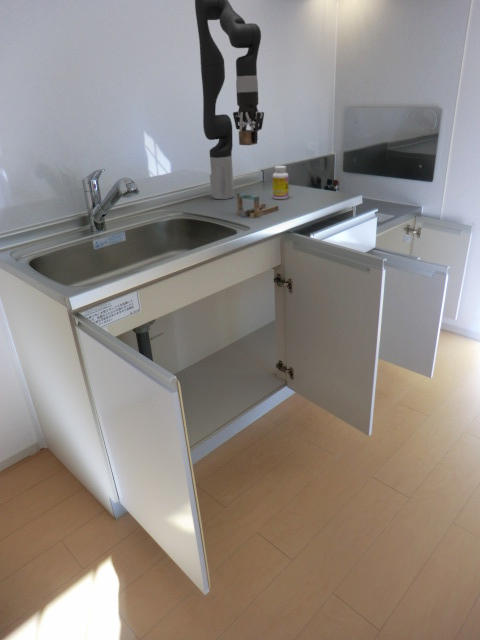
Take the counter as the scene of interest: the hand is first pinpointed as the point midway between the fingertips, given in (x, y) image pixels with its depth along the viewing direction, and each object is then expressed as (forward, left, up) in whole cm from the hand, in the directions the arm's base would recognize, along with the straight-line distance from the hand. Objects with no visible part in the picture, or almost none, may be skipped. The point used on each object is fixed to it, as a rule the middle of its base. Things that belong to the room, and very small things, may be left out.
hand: (249, 142), depth 175 cm
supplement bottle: (-6, +23, -26) cm, 35 cm away
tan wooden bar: (+3, -4, -26) cm, 26 cm away
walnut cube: (0, -1, -1) cm, 1 cm away
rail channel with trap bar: (+3, 0, -25) cm, 26 cm away
